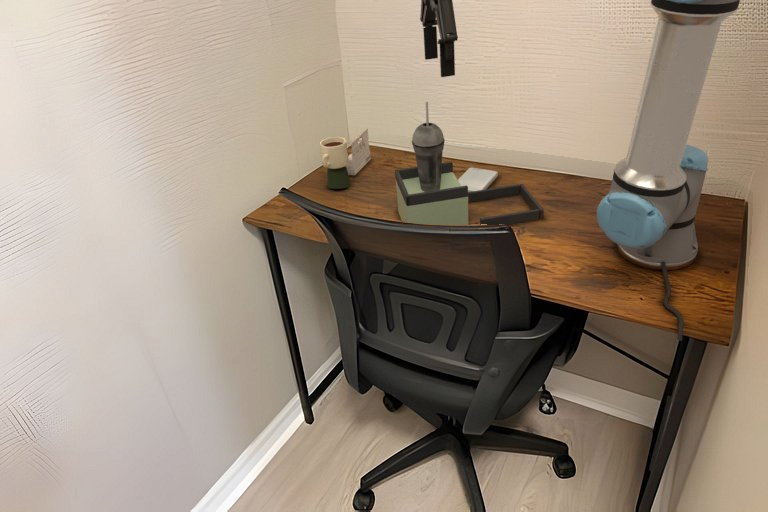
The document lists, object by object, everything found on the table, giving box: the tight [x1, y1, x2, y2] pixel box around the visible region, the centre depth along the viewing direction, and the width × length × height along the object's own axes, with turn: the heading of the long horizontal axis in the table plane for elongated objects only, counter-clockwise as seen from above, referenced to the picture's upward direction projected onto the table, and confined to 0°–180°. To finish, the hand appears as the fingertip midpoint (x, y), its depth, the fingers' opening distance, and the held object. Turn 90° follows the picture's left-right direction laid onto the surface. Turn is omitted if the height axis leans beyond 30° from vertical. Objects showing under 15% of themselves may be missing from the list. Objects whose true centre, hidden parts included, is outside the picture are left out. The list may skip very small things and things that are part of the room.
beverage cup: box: [411, 101, 445, 192], centre depth 131 cm, size 7×7×20 cm
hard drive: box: [457, 166, 499, 192], centre depth 155 cm, size 2×8×12 cm
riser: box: [394, 161, 545, 226], centre depth 140 cm, size 14×32×12 cm, turn 99°
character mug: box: [319, 136, 351, 190], centre depth 158 cm, size 11×7×13 cm, turn 152°
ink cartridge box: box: [346, 128, 372, 176], centre depth 168 cm, size 2×11×10 cm, turn 157°
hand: (439, 67), depth 123 cm, fingers open, 13 cm apart
